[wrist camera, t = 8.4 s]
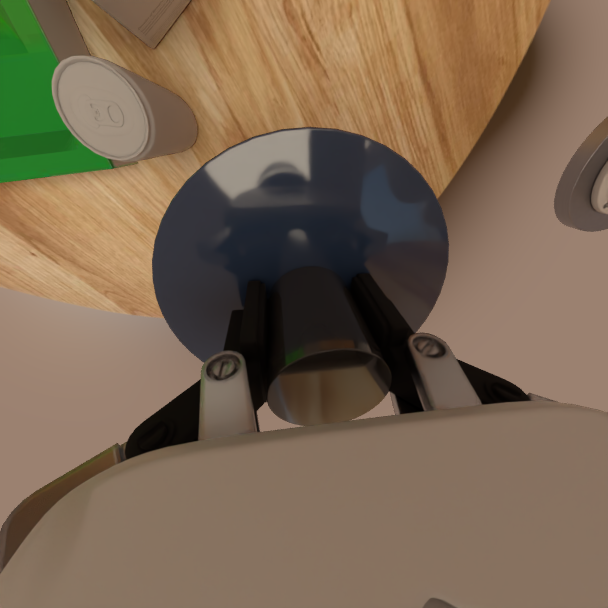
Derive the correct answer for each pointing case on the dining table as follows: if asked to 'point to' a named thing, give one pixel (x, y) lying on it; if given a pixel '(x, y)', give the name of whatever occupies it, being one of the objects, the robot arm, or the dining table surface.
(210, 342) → the lid
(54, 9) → the flat green box
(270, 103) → the dining table surface
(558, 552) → the robot arm
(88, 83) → the beverage can
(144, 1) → the white product box
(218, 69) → the dining table surface
